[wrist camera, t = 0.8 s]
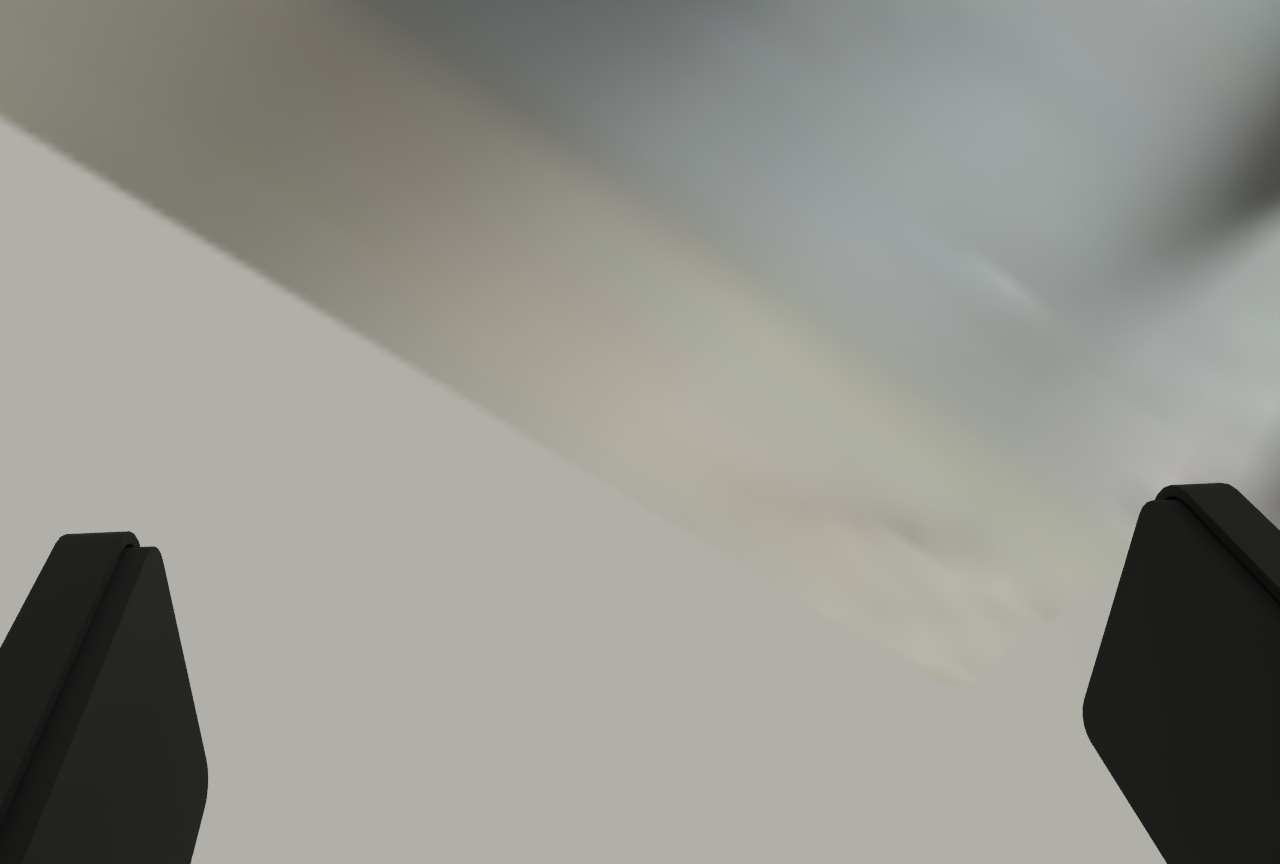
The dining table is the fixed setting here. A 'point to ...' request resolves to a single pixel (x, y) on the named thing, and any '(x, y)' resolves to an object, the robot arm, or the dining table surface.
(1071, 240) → the dining table surface
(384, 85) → the dining table surface
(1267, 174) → the dining table surface
